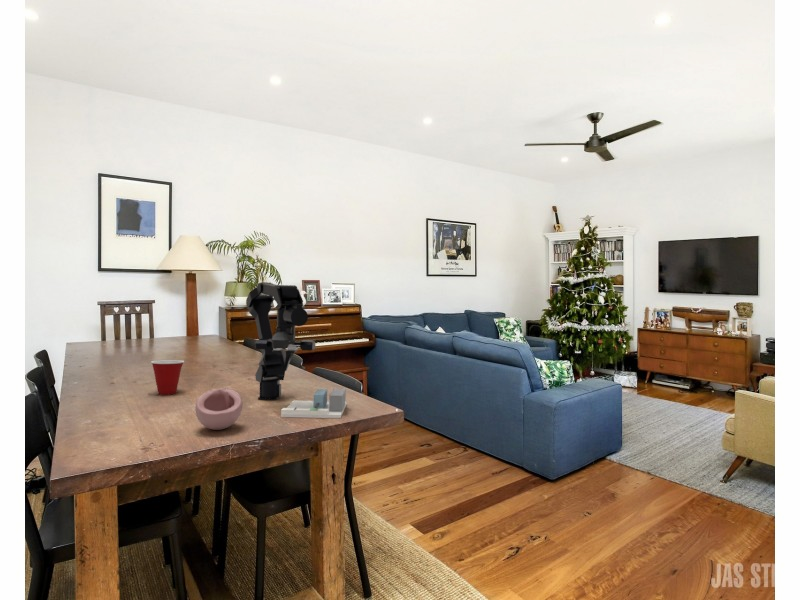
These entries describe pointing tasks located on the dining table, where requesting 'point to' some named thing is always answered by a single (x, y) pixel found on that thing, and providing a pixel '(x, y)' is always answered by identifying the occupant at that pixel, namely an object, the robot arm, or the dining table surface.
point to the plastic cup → (167, 375)
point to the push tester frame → (306, 409)
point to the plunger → (320, 398)
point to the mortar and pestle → (218, 408)
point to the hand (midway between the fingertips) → (285, 370)
